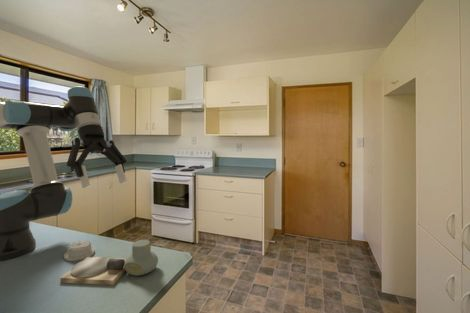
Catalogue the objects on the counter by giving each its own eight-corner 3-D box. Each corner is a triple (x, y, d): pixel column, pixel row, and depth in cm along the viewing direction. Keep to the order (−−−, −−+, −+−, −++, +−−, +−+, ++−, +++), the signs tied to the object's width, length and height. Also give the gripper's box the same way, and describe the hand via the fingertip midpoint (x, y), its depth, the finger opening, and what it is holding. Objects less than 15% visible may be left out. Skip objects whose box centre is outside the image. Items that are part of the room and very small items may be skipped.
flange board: (60, 282, 72) (59, 268, 72) (87, 260, 85) (87, 248, 85) (113, 285, 72) (113, 270, 72) (132, 262, 85) (132, 250, 84)
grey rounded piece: (119, 274, 77) (119, 246, 77) (135, 262, 86) (135, 236, 85) (148, 280, 75) (148, 250, 74) (161, 266, 83) (162, 240, 82)
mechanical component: (57, 259, 86) (79, 263, 84) (56, 248, 85) (79, 252, 83) (80, 247, 95) (100, 250, 94) (79, 237, 95) (100, 240, 93)
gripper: (56, 117, 69) (74, 183, 65) (126, 127, 91) (142, 176, 88) (43, 128, 71) (59, 192, 68) (114, 135, 94) (129, 183, 91)
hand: (106, 184), depth 78 cm, fingers open, 13 cm apart
